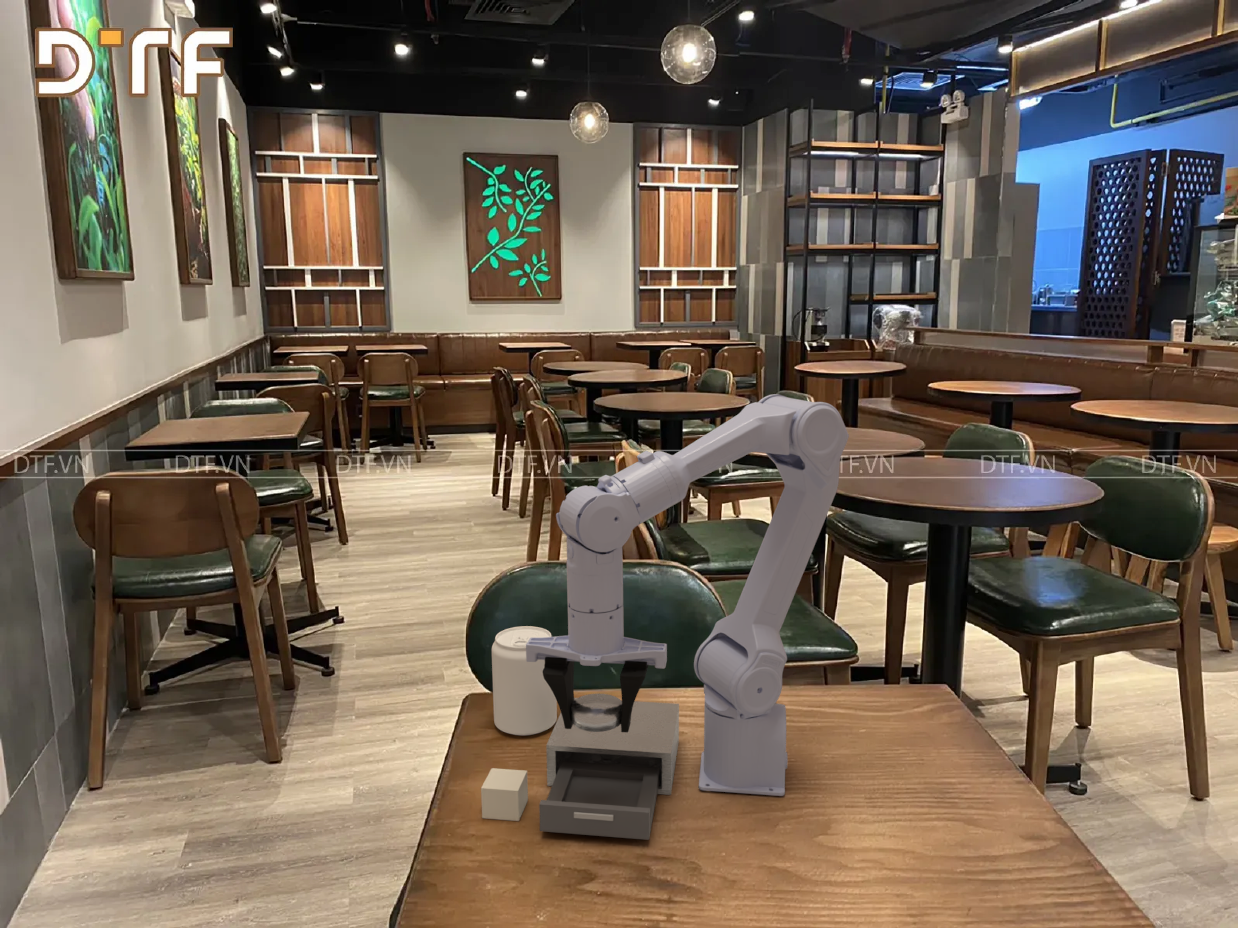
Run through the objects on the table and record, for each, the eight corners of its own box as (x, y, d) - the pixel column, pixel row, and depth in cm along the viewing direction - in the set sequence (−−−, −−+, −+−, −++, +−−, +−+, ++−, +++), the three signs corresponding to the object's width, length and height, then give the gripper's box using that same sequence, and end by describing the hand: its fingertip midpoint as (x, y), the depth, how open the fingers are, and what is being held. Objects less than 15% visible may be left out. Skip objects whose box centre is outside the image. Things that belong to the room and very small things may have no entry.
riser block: (528, 799, 96) (527, 770, 95) (518, 821, 92) (518, 790, 91) (492, 797, 97) (491, 768, 96) (482, 818, 93) (481, 788, 92)
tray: (659, 779, 98) (659, 755, 98) (648, 841, 87) (648, 814, 87) (562, 772, 100) (561, 748, 99) (539, 832, 89) (538, 805, 88)
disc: (626, 708, 94) (626, 695, 94) (618, 733, 89) (618, 718, 89) (577, 705, 95) (576, 692, 95) (567, 730, 90) (566, 715, 89)
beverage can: (561, 710, 117) (560, 625, 114) (551, 740, 109) (549, 650, 107) (502, 708, 118) (499, 623, 115) (487, 737, 110) (484, 647, 107)
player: (678, 741, 108) (679, 703, 108) (670, 794, 97) (671, 753, 96) (568, 734, 110) (567, 697, 109) (547, 785, 99) (546, 745, 98)
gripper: (516, 614, 87) (521, 740, 89) (662, 620, 85) (662, 749, 87) (533, 591, 94) (537, 708, 96) (668, 596, 91) (668, 716, 94)
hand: (597, 726), depth 92 cm, fingers closed on disc, 5 cm apart
